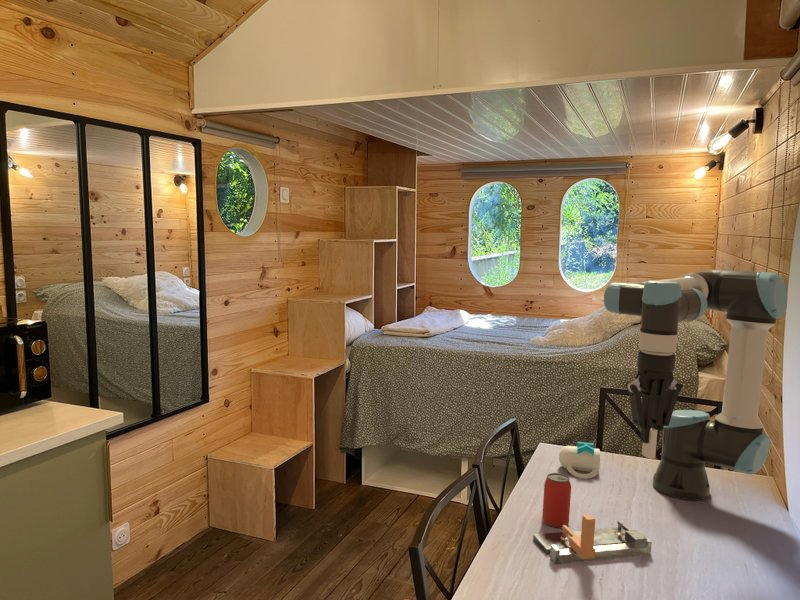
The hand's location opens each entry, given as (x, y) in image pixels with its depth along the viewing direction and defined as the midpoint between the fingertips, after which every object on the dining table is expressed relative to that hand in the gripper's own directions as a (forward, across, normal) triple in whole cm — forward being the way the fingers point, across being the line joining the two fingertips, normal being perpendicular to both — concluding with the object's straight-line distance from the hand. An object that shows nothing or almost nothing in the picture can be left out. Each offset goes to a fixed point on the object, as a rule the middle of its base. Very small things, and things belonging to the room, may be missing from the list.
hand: (648, 456), depth 136 cm
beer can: (+25, +11, -20) cm, 33 cm away
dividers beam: (+24, +8, -6) cm, 26 cm away
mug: (+25, -12, -50) cm, 57 cm away
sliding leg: (+23, +14, -5) cm, 27 cm away
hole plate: (+24, +8, -10) cm, 27 cm away
